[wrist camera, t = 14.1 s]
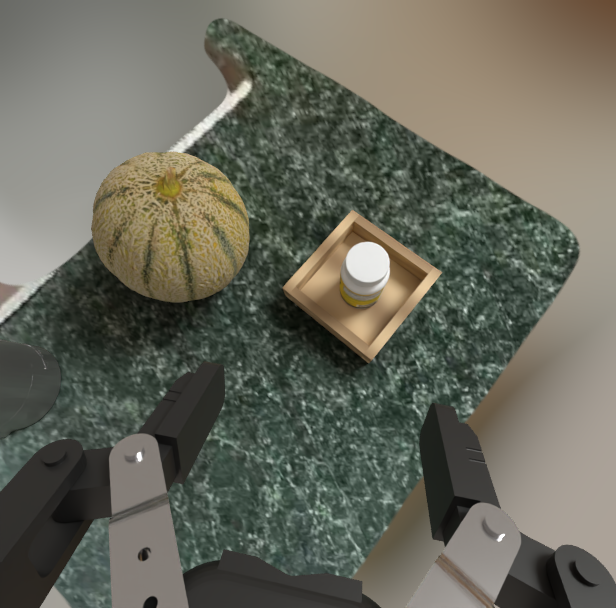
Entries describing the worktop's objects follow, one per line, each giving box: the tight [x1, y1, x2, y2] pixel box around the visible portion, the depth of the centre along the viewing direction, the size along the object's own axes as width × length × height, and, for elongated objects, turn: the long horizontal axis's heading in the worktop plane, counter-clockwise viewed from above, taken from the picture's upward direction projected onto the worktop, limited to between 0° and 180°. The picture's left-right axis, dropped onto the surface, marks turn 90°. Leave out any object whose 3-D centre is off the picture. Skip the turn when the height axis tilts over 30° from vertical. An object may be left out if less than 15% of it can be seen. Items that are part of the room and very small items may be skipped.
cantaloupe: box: [91, 152, 249, 302], centre depth 35 cm, size 15×15×15 cm
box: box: [283, 210, 442, 363], centre depth 38 cm, size 12×12×3 cm
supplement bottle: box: [340, 242, 390, 309], centre depth 35 cm, size 5×5×8 cm
